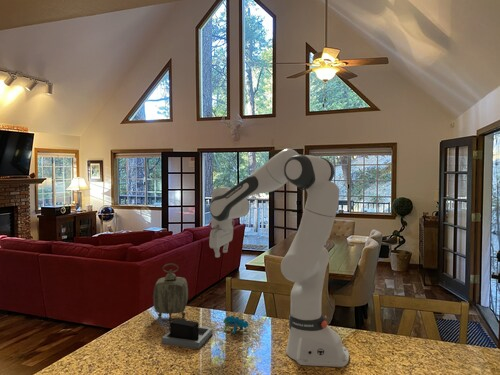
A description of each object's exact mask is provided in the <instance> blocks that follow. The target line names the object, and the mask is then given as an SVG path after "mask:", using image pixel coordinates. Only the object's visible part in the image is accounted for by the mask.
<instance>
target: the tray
mask: <svg viewBox="0 0 500 375" xmlns="http://www.w3.org/2000/svg"><path fill="white" fill-rule="evenodd" d="M213 332H214V331H213V328H212V327H207V326H199V340H198V341H194V340H187V339H180V338H172V337H170V330H169V331H168V332H166V334H164V335H163V336H162V337H161V344H162V345H166V346H173V347H180V348H187V349H192V350H193V349H194V350H200V349H201V348H202V347H203V346H204V345H205V343H206V342H208V340H209V339H210V338H211V336H213Z"/></svg>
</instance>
